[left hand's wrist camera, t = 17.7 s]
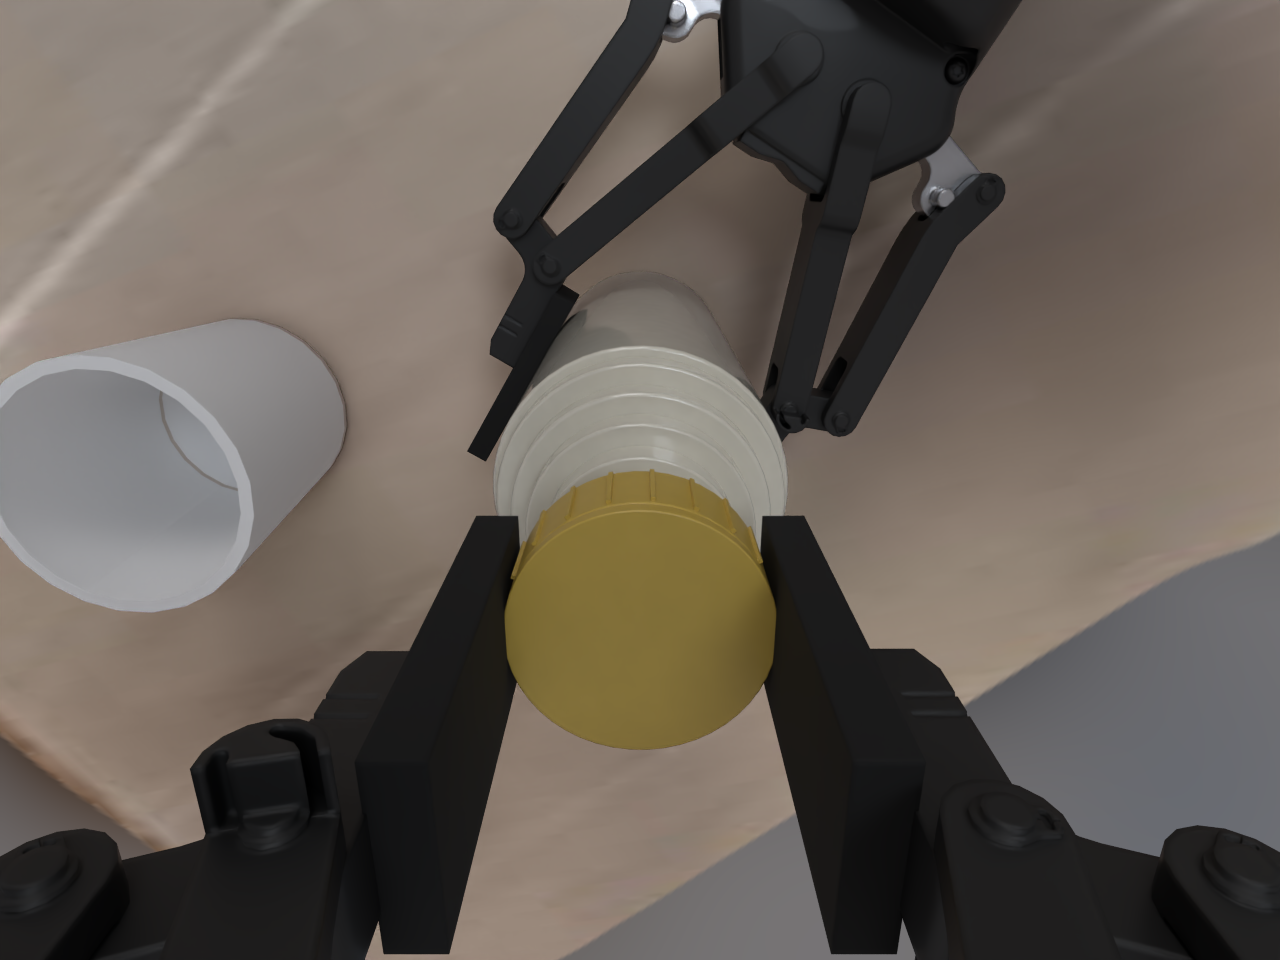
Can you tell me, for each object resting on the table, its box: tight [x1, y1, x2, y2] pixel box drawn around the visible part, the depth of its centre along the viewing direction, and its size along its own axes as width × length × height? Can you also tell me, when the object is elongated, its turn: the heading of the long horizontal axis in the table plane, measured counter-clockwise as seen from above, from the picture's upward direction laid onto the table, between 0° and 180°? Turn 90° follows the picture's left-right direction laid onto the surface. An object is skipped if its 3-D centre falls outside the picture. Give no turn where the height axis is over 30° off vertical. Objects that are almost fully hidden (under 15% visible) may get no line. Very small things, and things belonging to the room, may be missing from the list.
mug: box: [0, 318, 347, 612], centre depth 30 cm, size 11×9×10 cm
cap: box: [504, 469, 776, 750], centre depth 14 cm, size 5×5×2 cm
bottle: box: [493, 271, 788, 551], centre depth 24 cm, size 7×7×23 cm
